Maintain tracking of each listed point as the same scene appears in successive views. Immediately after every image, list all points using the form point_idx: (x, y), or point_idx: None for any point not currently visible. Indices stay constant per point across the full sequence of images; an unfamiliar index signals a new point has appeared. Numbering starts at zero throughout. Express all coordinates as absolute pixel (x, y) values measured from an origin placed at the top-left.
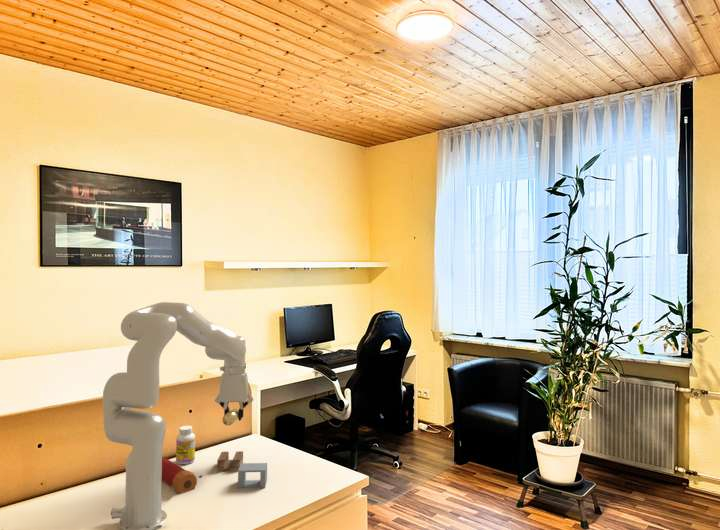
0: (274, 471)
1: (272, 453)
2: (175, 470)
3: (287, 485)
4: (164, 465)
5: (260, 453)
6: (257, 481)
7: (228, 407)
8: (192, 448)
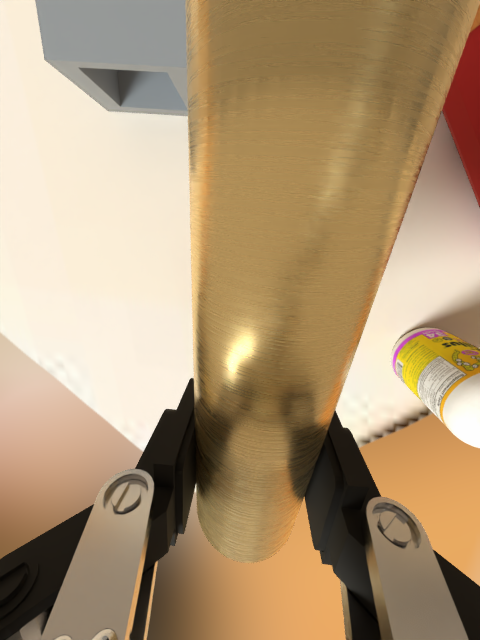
0: (103, 228)
1: (139, 380)
2: None
3: (22, 73)
4: None
5: (176, 385)
6: (137, 91)
7: (332, 556)
8: (430, 363)
